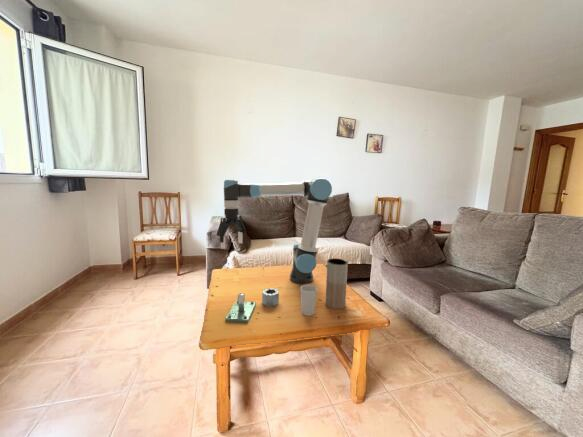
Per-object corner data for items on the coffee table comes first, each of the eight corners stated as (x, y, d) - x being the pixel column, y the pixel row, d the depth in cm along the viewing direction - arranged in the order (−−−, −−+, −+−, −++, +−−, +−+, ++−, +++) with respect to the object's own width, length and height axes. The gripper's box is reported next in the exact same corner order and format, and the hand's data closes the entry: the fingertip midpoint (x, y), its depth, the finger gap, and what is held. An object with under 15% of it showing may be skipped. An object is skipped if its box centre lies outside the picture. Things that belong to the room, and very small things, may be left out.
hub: (279, 299, 125) (279, 288, 124) (277, 307, 117) (277, 295, 116) (264, 298, 125) (264, 287, 124) (261, 306, 117) (261, 294, 117)
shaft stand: (255, 304, 118) (255, 287, 117) (247, 322, 103) (247, 303, 101) (236, 303, 119) (235, 286, 118) (225, 321, 103) (225, 302, 102)
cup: (302, 317, 108) (303, 292, 106) (297, 308, 116) (298, 285, 114) (318, 315, 110) (319, 290, 109) (312, 306, 118) (313, 283, 116)
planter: (321, 304, 121) (323, 260, 118) (332, 297, 128) (334, 257, 125) (338, 311, 114) (340, 265, 111) (349, 304, 121) (351, 261, 118)
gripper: (241, 206, 144) (242, 240, 147) (208, 209, 122) (210, 249, 125) (251, 206, 140) (251, 242, 143) (219, 210, 119) (220, 251, 122)
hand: (232, 245), depth 134 cm, fingers open, 13 cm apart
